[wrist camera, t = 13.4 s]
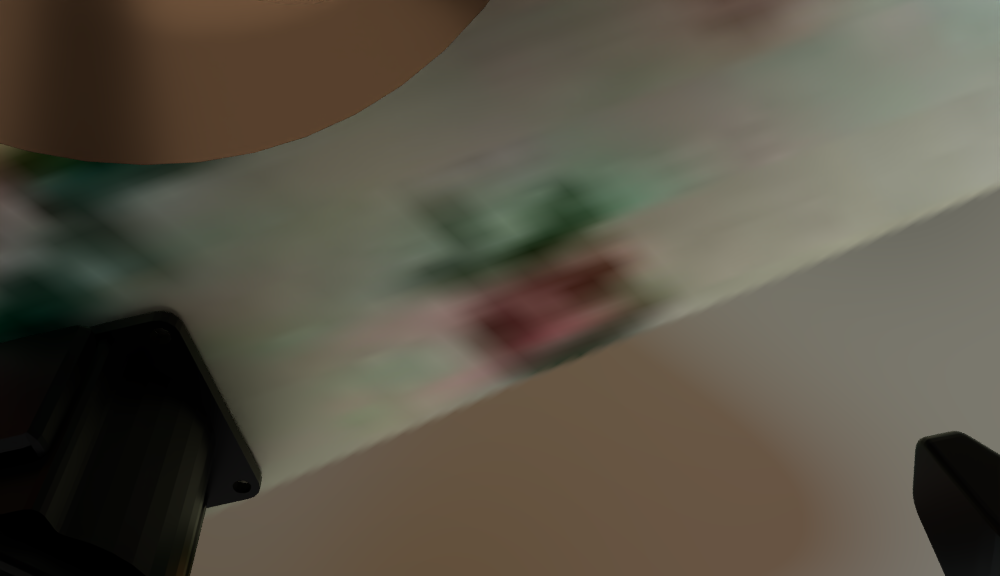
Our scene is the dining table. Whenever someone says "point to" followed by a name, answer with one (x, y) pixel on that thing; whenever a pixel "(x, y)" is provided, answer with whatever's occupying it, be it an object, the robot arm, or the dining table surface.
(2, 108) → the stop pin
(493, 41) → the dining table surface
